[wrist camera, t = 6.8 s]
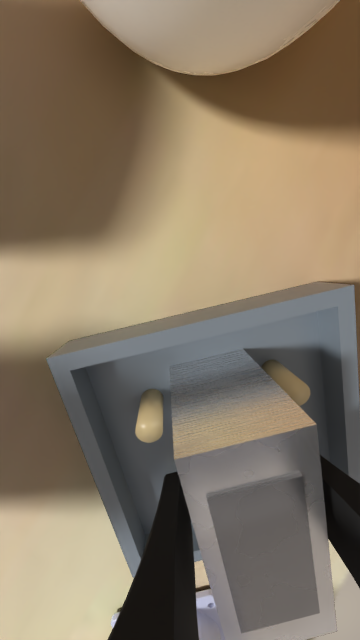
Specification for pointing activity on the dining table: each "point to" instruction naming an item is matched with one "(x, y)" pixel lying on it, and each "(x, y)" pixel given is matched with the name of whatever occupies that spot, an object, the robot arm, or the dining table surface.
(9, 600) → the dining table surface
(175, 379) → the block
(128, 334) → the tray
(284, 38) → the lidded bowl
